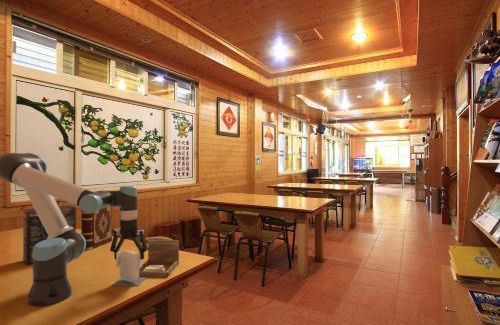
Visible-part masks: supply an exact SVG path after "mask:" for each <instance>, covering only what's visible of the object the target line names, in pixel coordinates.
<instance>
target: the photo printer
mask: <svg viewBox="0 0 500 325" xmlns="http://www.w3.org/2000/svg"><path fill="white" fill-rule="evenodd" d="M119 276H120V278H121V277H124V278H128V279H131V280H135V279H138V277H139V267H138V253H136V252H135V251H133V250H123V251H120V266H119Z"/></svg>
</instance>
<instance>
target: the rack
mask: <svg viewBox="0 0 500 325" xmlns="http://www.w3.org/2000/svg"><path fill="white" fill-rule="evenodd" d="M179 244H180V241H179V240H178V239H148V240H147V246H148V250H147V260H146V261H145V262H144V263H142V266H141V267H139V277H146V278H167V277H166V276H169V277H170V276H171V274H172V273H173V272H174V270H176V268H177V267H178V266H179V264H180V245H179ZM149 264H150V265H171V266H170V267H169V268H168V269H167V270H166V272H143V270H144V269H145V267H148V265H149ZM176 266H177V267H176ZM175 267H176V268H175ZM172 271H173V272H172ZM171 272H172V273H171ZM170 273H171V274H170ZM164 276H165V277H164Z"/></svg>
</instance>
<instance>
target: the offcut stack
mask: <svg viewBox="0 0 500 325" xmlns="http://www.w3.org/2000/svg"><path fill="white" fill-rule="evenodd" d="M164 266H165V264H150V265H149V266H147V267H145V269H144V270H143V271H142V272H165V273H166V271H167V270H166V267H164Z"/></svg>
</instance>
